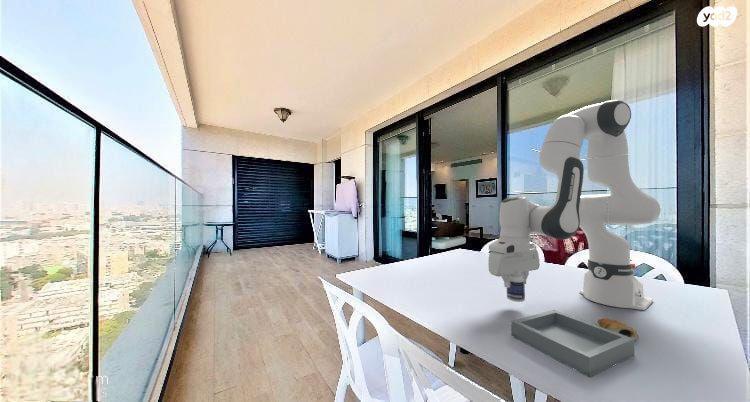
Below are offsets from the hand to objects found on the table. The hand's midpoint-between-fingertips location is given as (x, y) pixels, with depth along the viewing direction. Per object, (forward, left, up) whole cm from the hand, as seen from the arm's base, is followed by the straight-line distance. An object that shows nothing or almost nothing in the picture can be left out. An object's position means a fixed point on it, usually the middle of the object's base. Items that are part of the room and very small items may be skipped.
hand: (515, 285), depth 86 cm
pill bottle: (0, 0, -5) cm, 5 cm away
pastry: (-10, +22, -8) cm, 26 cm away
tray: (+8, +21, -8) cm, 23 cm away
